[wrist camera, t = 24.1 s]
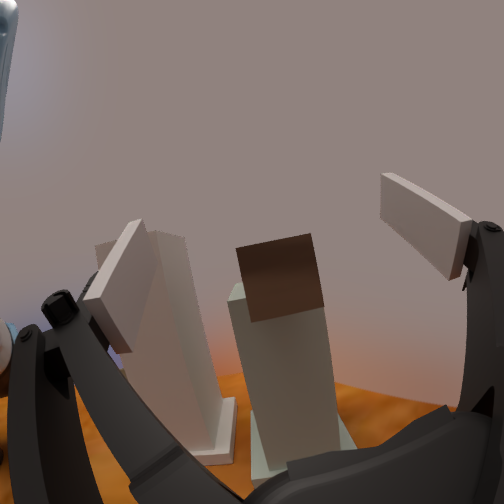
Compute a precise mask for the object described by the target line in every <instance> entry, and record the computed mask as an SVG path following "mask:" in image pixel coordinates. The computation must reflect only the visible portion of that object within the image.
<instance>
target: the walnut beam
mask: <svg viewBox="0 0 504 504" xmlns="http://www.w3.org/2000/svg"><path fill="white" fill-rule="evenodd" d="M236 252H237V257H238V261H239V266H240V272H241V277H242V281H243V286H244V291H245V296H246V301H247V305H248V310H249V315H250V320H251V323H253V322H258V321H263V320H268V319H273V318H277V317H282V316H287V315H291V314H296V313H300V312H304V311H309V310H313V309H317V308H321V307H324V302H323V295H322V290H321V284H320V278H319V274H318V267H317V262H316V257H315V252H314V247H313V242H312V237H311V234H310V233H309V234H304V235H299V236H294V237H289V238H284V239H279V240H274V241H269V242H264V243H259V244H254V245H249V246H244V247H239V248H236Z"/></svg>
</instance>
